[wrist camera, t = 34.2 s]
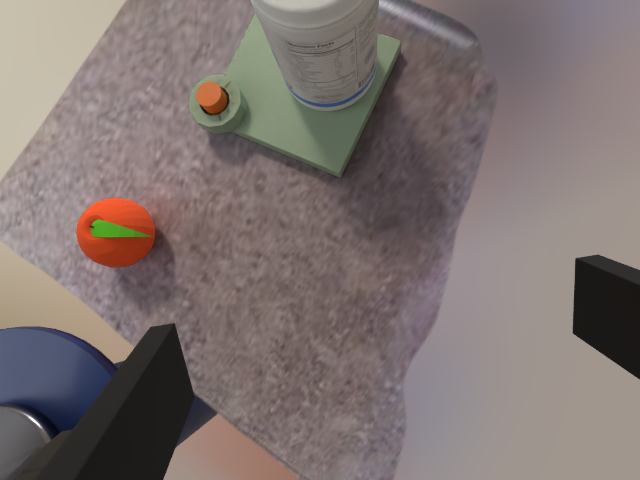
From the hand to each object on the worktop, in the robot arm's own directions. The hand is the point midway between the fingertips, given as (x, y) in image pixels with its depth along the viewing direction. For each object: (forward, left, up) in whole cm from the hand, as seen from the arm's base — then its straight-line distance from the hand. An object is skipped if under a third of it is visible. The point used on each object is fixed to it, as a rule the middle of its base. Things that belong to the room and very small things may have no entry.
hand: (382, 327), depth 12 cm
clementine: (-25, -5, -25) cm, 36 cm away
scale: (-16, +17, -25) cm, 35 cm away
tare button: (-23, +11, -22) cm, 34 cm away
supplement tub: (-14, +19, -24) cm, 33 cm away
